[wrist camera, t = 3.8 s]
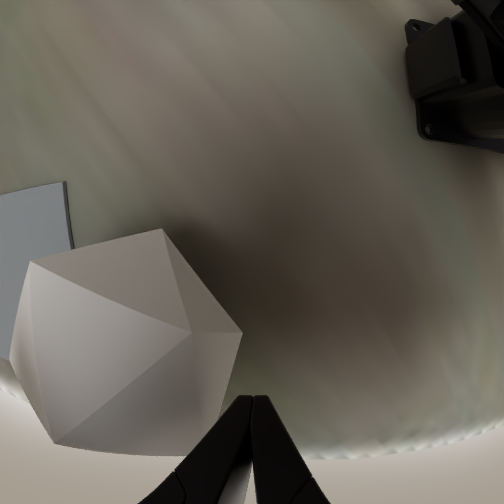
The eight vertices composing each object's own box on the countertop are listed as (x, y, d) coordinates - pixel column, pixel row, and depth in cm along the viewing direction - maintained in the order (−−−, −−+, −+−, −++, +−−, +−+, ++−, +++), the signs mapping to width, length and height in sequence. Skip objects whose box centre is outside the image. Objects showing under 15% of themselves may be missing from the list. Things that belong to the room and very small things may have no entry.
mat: (65, 181, 14) (62, 181, 13) (110, 383, 17) (108, 386, 17) (-47, 208, 15) (-50, 208, 14) (-9, 352, 18) (-11, 353, 18)
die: (66, 276, 15) (-59, 365, 6) (176, 176, 13) (6, 213, 4) (156, 384, 17) (94, 517, 7) (280, 319, 15) (284, 503, 5)
